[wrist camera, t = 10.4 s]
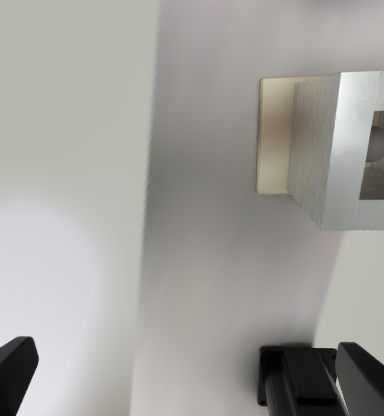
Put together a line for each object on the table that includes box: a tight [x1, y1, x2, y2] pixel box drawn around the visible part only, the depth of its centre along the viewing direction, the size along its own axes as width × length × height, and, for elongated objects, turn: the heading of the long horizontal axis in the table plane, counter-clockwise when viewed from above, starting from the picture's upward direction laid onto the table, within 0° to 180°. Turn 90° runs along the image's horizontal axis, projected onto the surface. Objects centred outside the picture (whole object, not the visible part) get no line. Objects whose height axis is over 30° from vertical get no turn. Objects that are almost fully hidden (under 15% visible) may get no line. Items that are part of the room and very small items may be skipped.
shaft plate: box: [256, 76, 384, 194], centre depth 16 cm, size 7×10×5 cm
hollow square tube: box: [286, 71, 384, 230], centre depth 15 cm, size 6×6×6 cm
